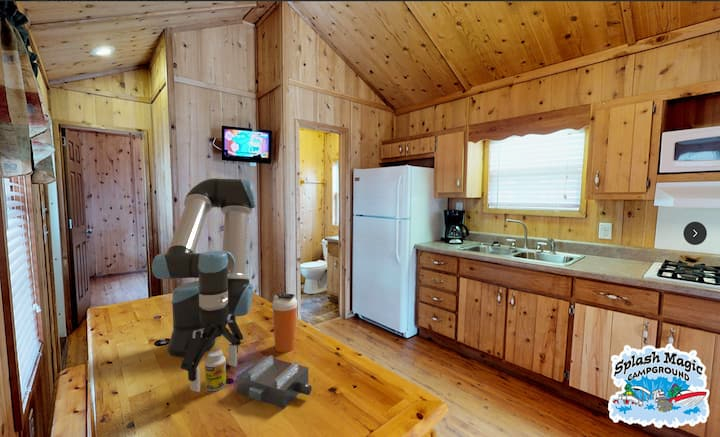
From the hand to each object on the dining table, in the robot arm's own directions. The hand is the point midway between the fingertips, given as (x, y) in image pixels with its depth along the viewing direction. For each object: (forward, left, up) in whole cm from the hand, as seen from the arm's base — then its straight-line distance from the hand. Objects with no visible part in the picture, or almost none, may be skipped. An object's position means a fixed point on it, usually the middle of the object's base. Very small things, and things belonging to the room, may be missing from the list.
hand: (215, 377), depth 92 cm
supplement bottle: (0, 0, -3) cm, 3 cm away
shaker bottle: (+5, +27, -3) cm, 28 cm away
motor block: (+18, +5, -3) cm, 19 cm away
